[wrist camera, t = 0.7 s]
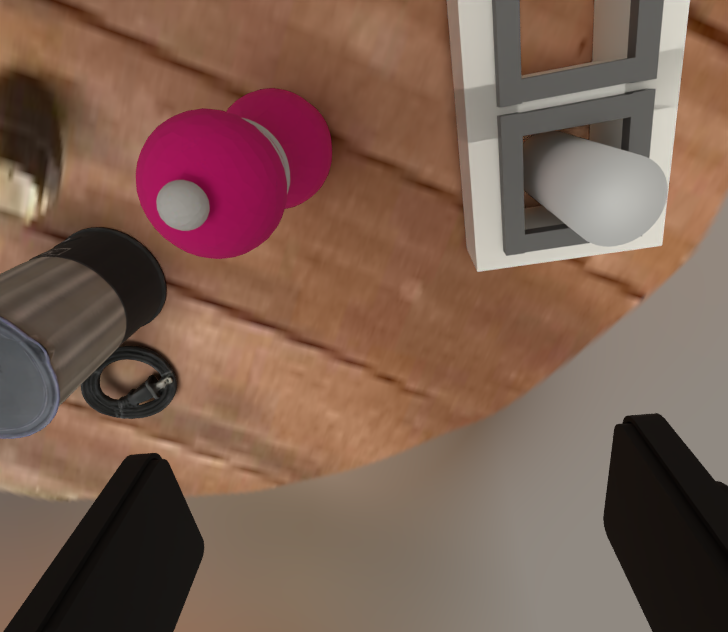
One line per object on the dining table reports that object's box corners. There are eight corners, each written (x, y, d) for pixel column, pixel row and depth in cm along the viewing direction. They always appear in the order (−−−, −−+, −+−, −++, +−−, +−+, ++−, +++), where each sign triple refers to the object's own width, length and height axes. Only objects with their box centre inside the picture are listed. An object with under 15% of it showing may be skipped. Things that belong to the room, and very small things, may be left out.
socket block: (441, -68, 28) (472, -163, 17) (653, -118, 26) (835, -256, 15) (466, 248, 36) (498, 317, 26) (627, 224, 35) (731, 287, 24)
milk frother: (103, 201, 36) (-62, 269, 23) (246, 339, 41) (178, 460, 28) (8, 302, 41) (-175, 407, 28) (148, 415, 46) (49, 550, 33)
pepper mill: (267, 64, 31) (105, 40, 13) (357, 127, 33) (317, 180, 15) (223, 158, 34) (40, 240, 16) (307, 211, 36) (224, 340, 18)
